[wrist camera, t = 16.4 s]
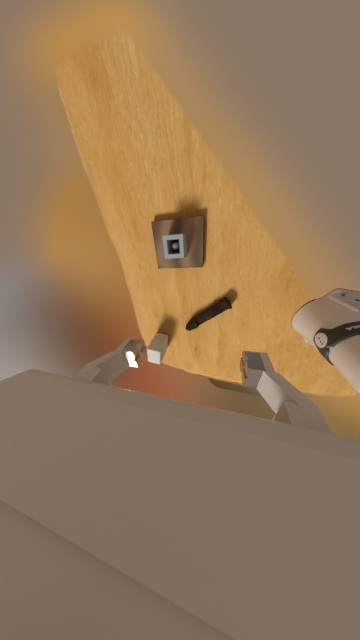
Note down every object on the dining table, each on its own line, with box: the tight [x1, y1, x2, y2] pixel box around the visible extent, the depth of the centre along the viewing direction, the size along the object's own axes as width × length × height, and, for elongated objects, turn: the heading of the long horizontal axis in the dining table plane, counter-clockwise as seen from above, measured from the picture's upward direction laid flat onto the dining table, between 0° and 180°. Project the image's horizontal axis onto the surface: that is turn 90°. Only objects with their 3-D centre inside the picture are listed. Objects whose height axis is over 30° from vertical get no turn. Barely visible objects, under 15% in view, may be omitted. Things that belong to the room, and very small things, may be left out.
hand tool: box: [186, 297, 232, 331], centre depth 47 cm, size 19×4×5 cm, turn 130°
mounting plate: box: [151, 216, 204, 268], centre depth 36 cm, size 14×12×5 cm
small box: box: [147, 333, 168, 364], centre depth 57 cm, size 8×6×10 cm
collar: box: [162, 234, 188, 259], centre depth 35 cm, size 5×5×5 cm
